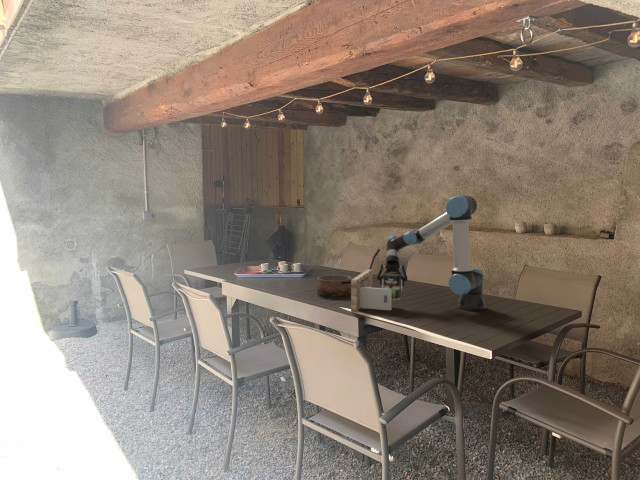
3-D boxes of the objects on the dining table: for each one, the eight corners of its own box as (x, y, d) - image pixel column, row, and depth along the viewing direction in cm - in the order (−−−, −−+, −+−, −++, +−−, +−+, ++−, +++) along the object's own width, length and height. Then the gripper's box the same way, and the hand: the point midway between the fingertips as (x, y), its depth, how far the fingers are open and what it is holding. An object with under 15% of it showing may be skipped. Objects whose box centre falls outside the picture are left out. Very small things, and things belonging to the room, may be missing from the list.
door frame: (367, 297, 294) (367, 269, 293) (371, 297, 293) (372, 269, 292) (351, 311, 259) (351, 279, 257) (356, 312, 258) (356, 280, 256)
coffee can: (399, 300, 261) (400, 276, 259) (381, 299, 264) (381, 275, 262) (401, 296, 270) (402, 273, 269) (384, 295, 273) (384, 272, 272)
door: (354, 308, 264) (355, 287, 263) (356, 306, 268) (356, 286, 266) (390, 311, 258) (390, 290, 256) (391, 309, 261) (391, 288, 260)
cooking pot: (362, 294, 302) (362, 278, 301) (337, 300, 288) (337, 283, 287) (331, 287, 325) (331, 272, 324) (306, 292, 310) (306, 276, 309)
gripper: (411, 262, 278) (411, 294, 264) (373, 261, 282) (372, 292, 268) (412, 255, 272) (412, 287, 259) (373, 254, 276) (371, 285, 262)
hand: (391, 289), depth 263 cm, fingers closed on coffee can, 10 cm apart
